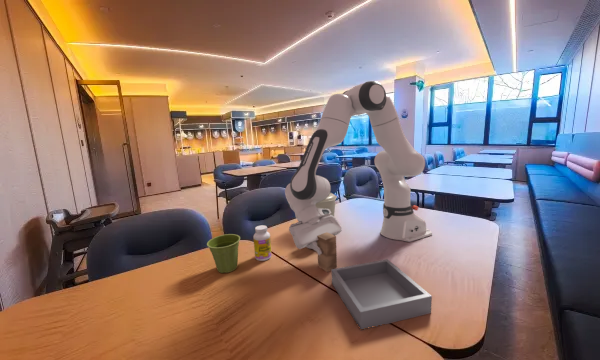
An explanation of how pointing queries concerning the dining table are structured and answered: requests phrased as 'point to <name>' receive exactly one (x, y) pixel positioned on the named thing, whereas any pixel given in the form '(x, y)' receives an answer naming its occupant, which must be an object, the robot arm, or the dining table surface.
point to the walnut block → (327, 251)
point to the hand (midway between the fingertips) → (328, 251)
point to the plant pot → (225, 252)
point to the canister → (328, 203)
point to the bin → (380, 293)
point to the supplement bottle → (262, 243)
